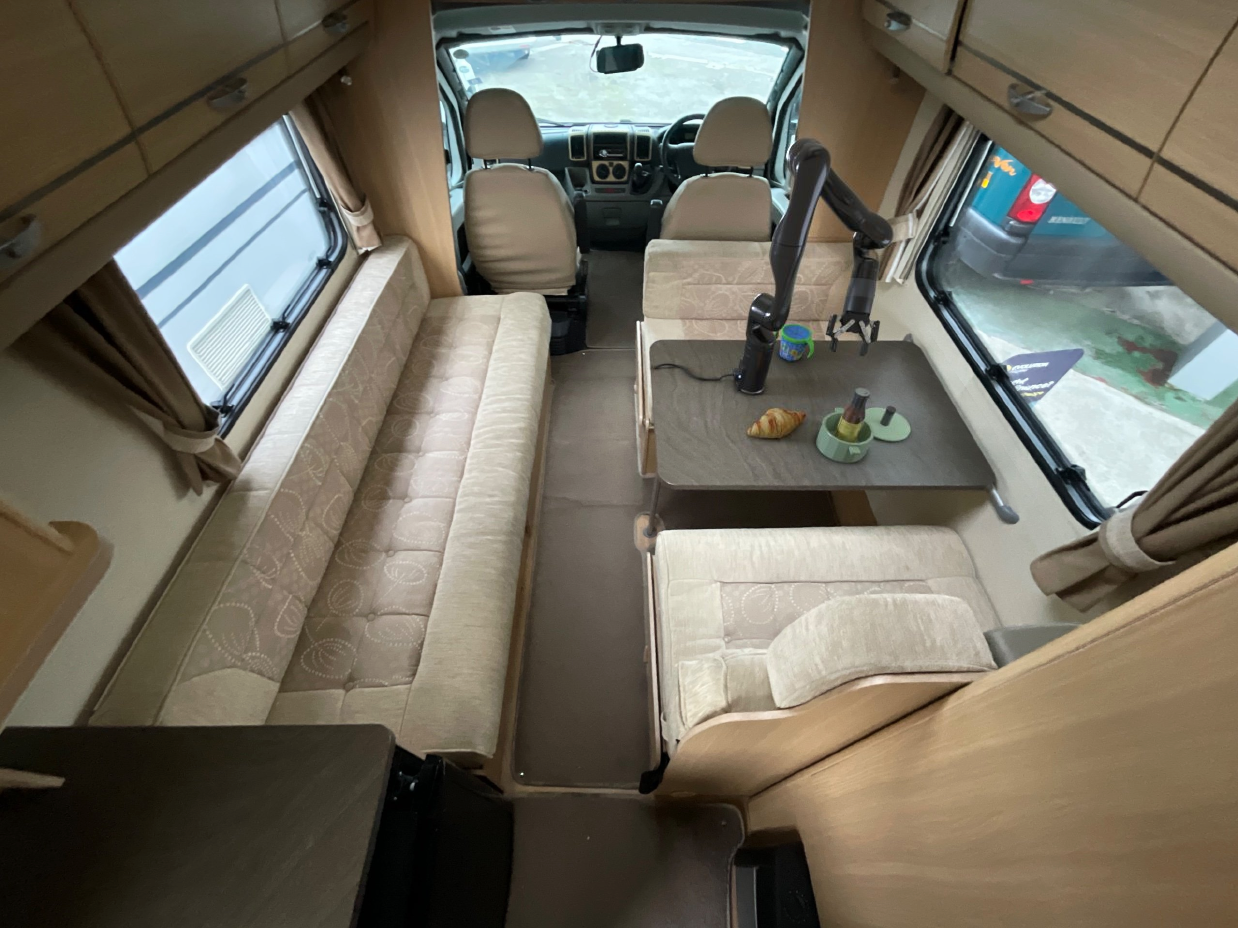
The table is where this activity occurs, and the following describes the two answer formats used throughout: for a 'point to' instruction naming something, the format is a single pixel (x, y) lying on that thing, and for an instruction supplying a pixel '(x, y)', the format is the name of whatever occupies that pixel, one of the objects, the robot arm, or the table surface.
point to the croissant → (776, 423)
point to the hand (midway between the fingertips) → (847, 353)
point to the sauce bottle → (853, 417)
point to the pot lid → (887, 423)
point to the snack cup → (794, 341)
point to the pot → (840, 448)
